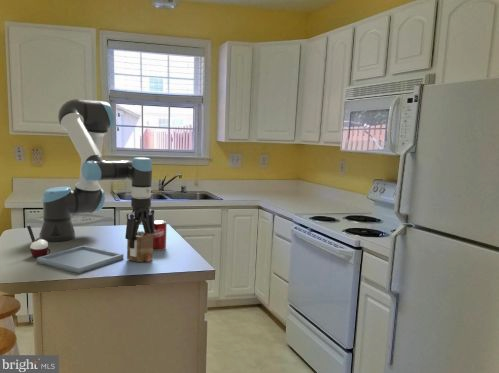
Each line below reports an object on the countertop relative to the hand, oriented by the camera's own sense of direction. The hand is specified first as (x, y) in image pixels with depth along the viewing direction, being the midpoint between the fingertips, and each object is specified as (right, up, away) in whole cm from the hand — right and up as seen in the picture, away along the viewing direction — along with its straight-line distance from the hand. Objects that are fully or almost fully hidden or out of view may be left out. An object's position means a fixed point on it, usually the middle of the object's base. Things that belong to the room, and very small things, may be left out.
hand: (140, 253), depth 167 cm
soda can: (+3, -1, +17) cm, 18 cm away
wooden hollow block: (0, -2, 0) cm, 2 cm away
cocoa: (-40, -1, -1) cm, 40 cm away
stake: (0, -2, 0) cm, 3 cm away
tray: (-21, -2, -5) cm, 22 cm away
